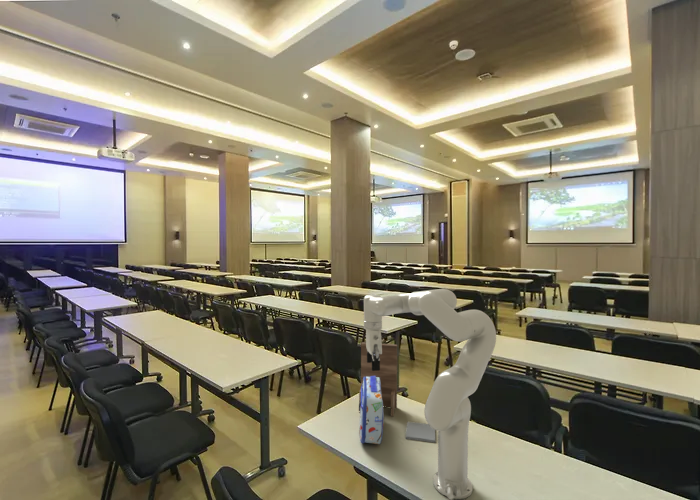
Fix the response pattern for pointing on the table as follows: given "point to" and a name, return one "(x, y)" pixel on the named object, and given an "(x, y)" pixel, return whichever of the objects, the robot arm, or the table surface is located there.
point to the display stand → (383, 373)
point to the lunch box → (371, 411)
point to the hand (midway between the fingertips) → (373, 366)
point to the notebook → (420, 432)
